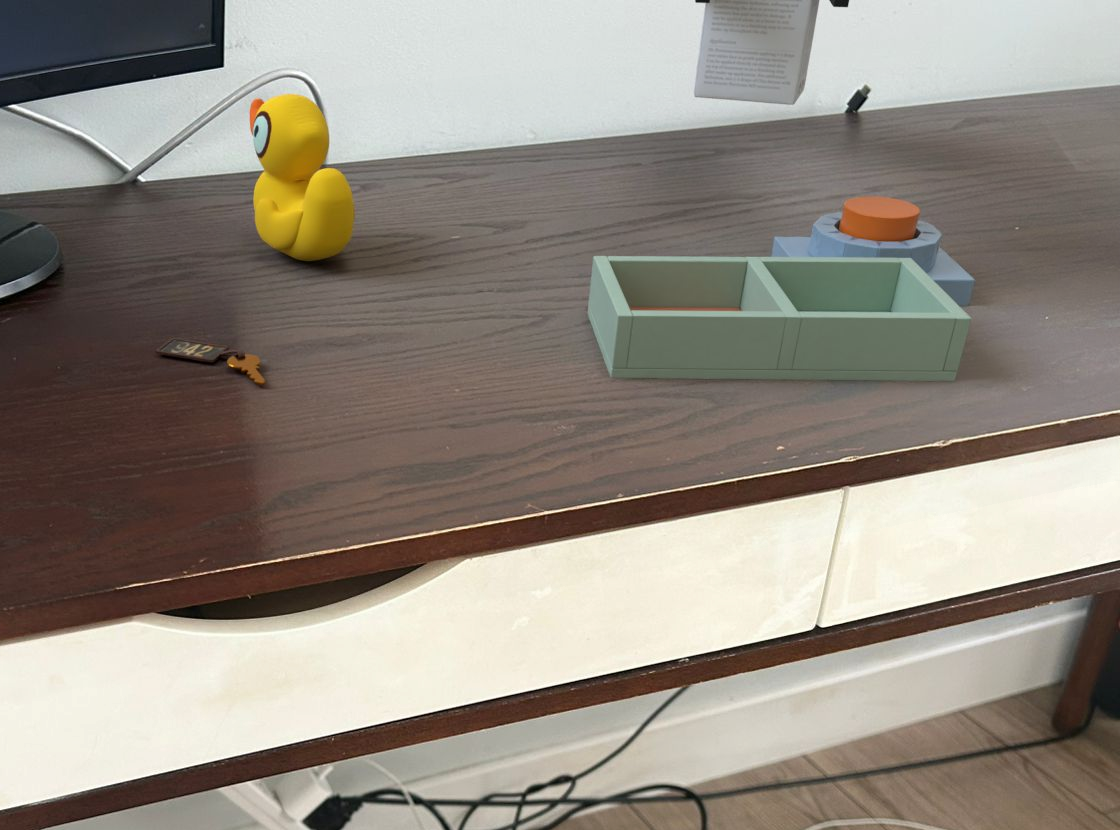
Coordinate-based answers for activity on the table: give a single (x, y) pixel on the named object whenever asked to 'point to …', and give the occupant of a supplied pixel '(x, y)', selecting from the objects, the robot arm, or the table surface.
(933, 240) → the button base
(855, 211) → the button
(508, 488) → the table surface
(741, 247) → the table surface
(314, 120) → the duckling
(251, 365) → the key tag
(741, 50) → the cosmetic box
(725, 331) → the tray
